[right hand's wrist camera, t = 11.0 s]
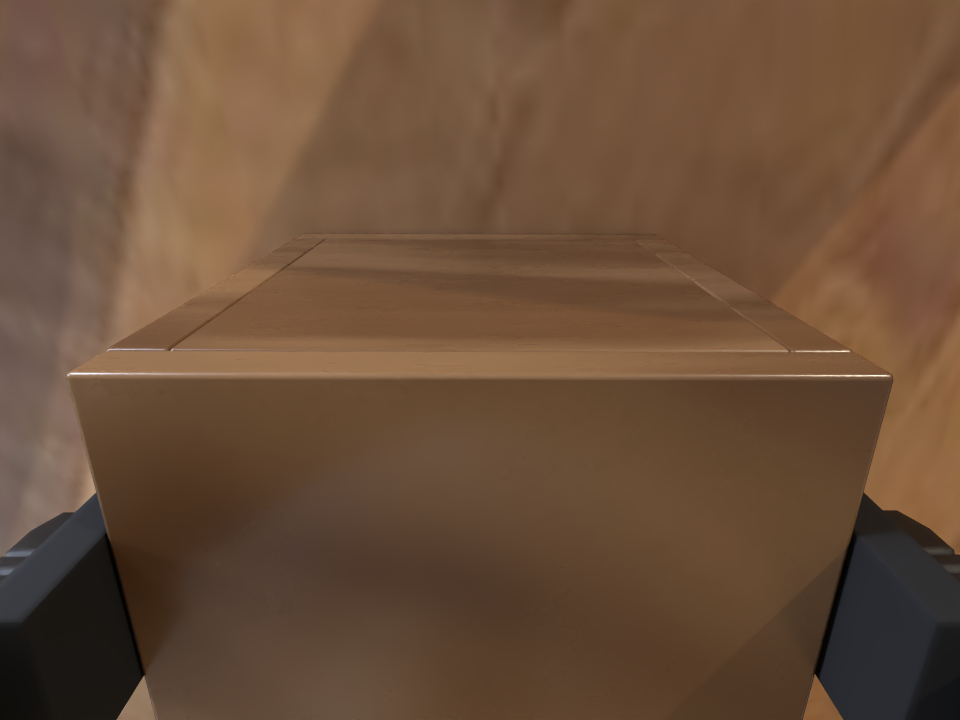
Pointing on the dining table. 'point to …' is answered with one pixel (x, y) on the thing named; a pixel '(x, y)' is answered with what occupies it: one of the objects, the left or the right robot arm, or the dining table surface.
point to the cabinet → (479, 484)
